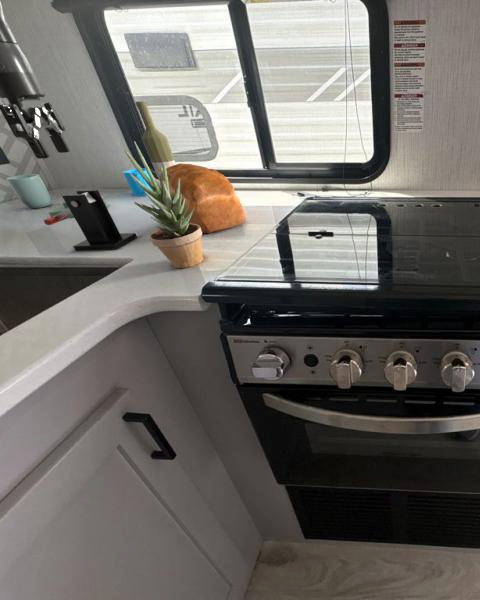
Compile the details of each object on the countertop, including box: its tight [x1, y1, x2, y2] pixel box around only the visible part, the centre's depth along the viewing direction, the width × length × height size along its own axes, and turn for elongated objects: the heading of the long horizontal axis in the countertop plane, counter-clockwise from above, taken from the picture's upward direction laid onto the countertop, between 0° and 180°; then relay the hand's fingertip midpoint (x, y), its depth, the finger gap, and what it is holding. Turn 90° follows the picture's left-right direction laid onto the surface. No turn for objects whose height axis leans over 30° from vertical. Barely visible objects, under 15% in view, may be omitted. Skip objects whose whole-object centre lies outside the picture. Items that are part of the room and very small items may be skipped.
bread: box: [158, 162, 246, 234], centre depth 93 cm, size 14×26×16 cm, turn 49°
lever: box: [43, 192, 96, 226], centre depth 79 cm, size 12×5×2 cm, turn 91°
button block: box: [48, 198, 109, 219], centre depth 106 cm, size 12×10×4 cm
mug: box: [122, 167, 152, 197], centre depth 123 cm, size 12×8×8 cm
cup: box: [6, 173, 52, 209], centre depth 111 cm, size 8×8×10 cm
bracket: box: [61, 189, 138, 252], centre depth 80 cm, size 10×8×13 cm
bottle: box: [135, 101, 177, 182], centre depth 112 cm, size 7×7×30 cm
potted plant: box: [124, 140, 204, 269], centre depth 67 cm, size 10×10×25 cm
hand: (54, 155), depth 77 cm, fingers open, 8 cm apart
